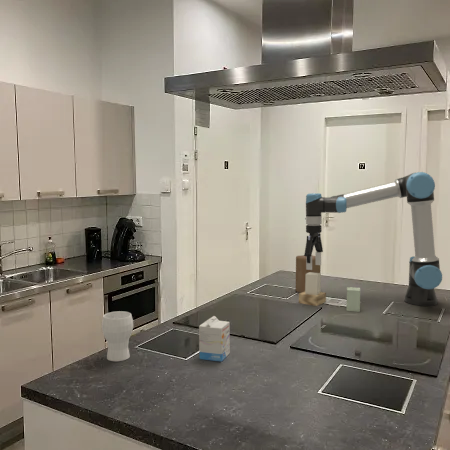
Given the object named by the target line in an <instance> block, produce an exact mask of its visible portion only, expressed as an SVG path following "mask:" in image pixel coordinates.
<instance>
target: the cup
mask: <svg viewBox="0 0 450 450" xmlns="http://www.w3.org/2000/svg"><path fill="white" fill-rule="evenodd" d="M133 329H134V319H133V316H132V313H131V312H129V311H122V310H121V311H120V310H119V311H111V312H106V313H105V314H103V315H102V320H101V330H102V331H101V332H102V335H103V337H104V338H105V340H106V342H107V353H106V360H108V361H110V362H123V361H125V360H129V358H130V357H131V355H130V350H129V349H130V348H129V340H130V338H131V336H132V333H133Z"/></svg>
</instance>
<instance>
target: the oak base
mask: <svg viewBox="0 0 450 450" xmlns="http://www.w3.org/2000/svg"><path fill="white" fill-rule="evenodd" d="M326 302H327V292H323V291H320V294H318V295H309V294H305V291H304V292H302V293H299V292H298V304H304V305H310V306H314V307H318V306H320V305H322V304H324V303H326Z"/></svg>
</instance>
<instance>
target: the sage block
mask: <svg viewBox="0 0 450 450" xmlns="http://www.w3.org/2000/svg"><path fill="white" fill-rule="evenodd" d="M345 311H346V312H355V313H356V312H358V313H360V312H361V287H354V286H353V287H351V286H350V287H349V286H347V287H346V310H345Z"/></svg>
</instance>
